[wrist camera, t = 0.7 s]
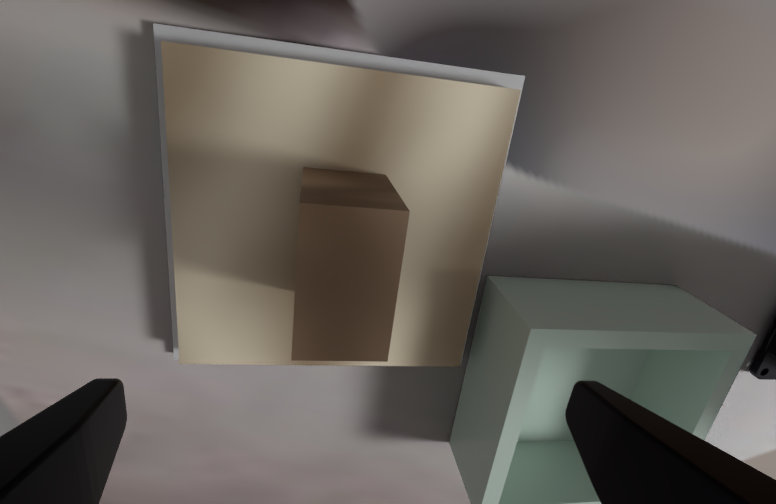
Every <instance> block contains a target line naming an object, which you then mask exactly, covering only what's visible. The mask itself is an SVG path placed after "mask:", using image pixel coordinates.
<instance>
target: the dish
mask: <svg viewBox="0 0 776 504" xmlns="http://www.w3.org/2000/svg"><path fill="white" fill-rule="evenodd" d="M756 336H757V335H756V334H755V333H753V332H752V331H750V330H748V329H747V328H745V327H743V326H742V325H740V324H738V323H737V322H735V321H733V320H732V319H730V318H729V317H727V316H725V315H724V314H722V313H720V312H719V311H717V310H715V309H714V308H712V307H710V306H709V305H707V304H706V303H704V302H702V301H701V300H699V299H697V298H696V297H694V296H692V295H691V294H689V293H688V292H686V291H684V290H683V289H681V288H679V287H678V286H676V285H663V284H643V283H624V282H604V281H584V280H564V279H545V278H525V277H505V276H487V280H486V284H485V288H484V293H483V297H482V301H481V306H480V310H479V315H478V319H477V323H476V328H475V332H474V337H473V341H472V345H471V350H470V354H469V359H468V363H467V367H466V372H465V376H464V380H463V385H462V389H461V394H460V398H459V402H458V407H457V411H456V416H455V420H454V424H453V429H452V433H451V437H450V442H449V444H450V446H451V449H452V452H453V455H454V458H455V460H456V463H457V466H458V469H459V471H460V474H461V477H462V480H463V483H464V485H465V488H466V491H467V494H468V497H469V499H470V502H471V504H601V502H600V500H599V498H598V496H597V494H596V492H595V490H594V488H593V485H592V483H591V481H590V478H589V476H588V474H587V471H586V469H585V466H584V464H583V461H582V459H581V457H580V454H579V452H578V449H577V447H576V444H575V442H574V439H573V437H572V435H571V432H570V430H569V427H568V425H567V422H566V418H565V411H566V407H567V404H568V401H569V398H570V396H571V393H572V390H573V387H574V384H575V383H576V382H578V381H597V382H599V383H601V384H603V385H605V386H607V387H608V388H610V389H612V390H614V391H616V392H617V393H619V394H621V395H623V396H625V397H627V398H628V399H630V400H632V401H634V402H636V403H637V404H639V405H641V406H643V407H645V408H646V409H648V410H650V411H652V412H654V413H655V414H657V415H659V416H661V417H663V418H664V419H666V420H668V421H670V422H672V423H673V424H675V425H677V426H679V427H681V428H682V429H684V430H686V431H688V432H690V433H692V434H693V435H695V436H697V437H699V438H701V439H702V440H705V438H706V436H707V434H708V432H709V430H710V428H711V426H712V424H713V422H714V420H715V418H716V416H717V414H718V412H719V410H720V408H721V406H722V404H723V402H724V400H725V398H726V396H727V394H728V392H729V390H730V388H731V386H732V384H733V382H734V380H735V378H736V376H737V374H738V372H739V370H740V368H741V366H742V364H743V362H744V360H745V358H746V356H747V354H748V352H749V350H750V348H751V346H752V344H753V342H754V340H755V338H756Z"/></svg>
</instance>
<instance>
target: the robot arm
mask: <svg viewBox="0 0 776 504" xmlns="http://www.w3.org/2000/svg"><path fill="white" fill-rule="evenodd" d="M750 373H751V374H752V375H754V376H755V377H756V378H758V379H776V319H775V321H774V323H773V325H772V327H771V329H770V331H769V333H768V335H767V337H766V339H765V341H764V343H763V345H762V346H761V348H760V350H759V352H758V354H757V356H756V358H755V360H754V362H753V364H752V366H751V368H750ZM565 418H566V422H567V425H568V427H569V430H570V432H571V435H572V437H573V439H574V442H575V444H576V447H577V449H578V452H579V454H580V457H581V459H582V461H583V464H584V466H585V469H586V471H587V474H588V476H589V478H590V481H591V483H592V485H593V488H594V490H595V492H596V494H597V496H598V498H599V500H600V502H601V504H776V480H775V479H773V478H771V477H769V476H767V475H765V474H764V473H762V472H760V471H758V470H757V469H755V468H753V467H751V466H749V465H747V464H746V463H744V462H742V461H740V460H738V459H737V458H735V457H733V456H731V455H729V454H728V453H726V452H724V451H722V450H720V449H719V448H717V447H715V446H713V445H711V444H710V443H708V442H706V441H704V440H702V439H701V438H699V437H697V436H695V435H693V434H692V433H690V432H688V431H686V430H684V429H682V428H681V427H679V426H677V425H675V424H673V423H672V422H670V421H668V420H666V419H664V418H663V417H661V416H659V415H657V414H655V413H654V412H652V411H650V410H648V409H646V408H645V407H643V406H641V405H639V404H637V403H636V402H634V401H632V400H630V399H628V398H627V397H625V396H623V395H621V394H619V393H617V392H616V391H614V390H612V389H610V388H608V387H607V386H605V385H603V384H601V383H599V382H597V381H578V382H576V383H575V384H574V387H573V390H572V393H571V396H570V398H569V401H568V404H567V407H566V411H565ZM126 421H127V412H126V403H125V395H124V386H123V383H122V381H121V380H119V379H94V380H92V381H90V382H89V383H87V384H86V385H84V386H82V387H81V388H79V389H77V390H76V391H74V392H72V393H71V394H69V395H68V396H66V397H64V398H63V399H61V400H59V401H58V402H56V403H54V404H53V405H51V406H50V407H48V408H46V409H45V410H43V411H41V412H40V413H38V414H36V415H35V416H33V417H32V418H30V419H28V420H27V421H25V422H23V423H22V424H20V425H18V426H17V427H15V428H14V429H12V430H11V431H9V432H7V433H5V434H4V435H2V436H1V437H0V504H99V502H100V499H101V496H102V493H103V490H104V487H105V484H106V482H107V479H108V476H109V473H110V470H111V467H112V464H113V461H114V459H115V456H116V453H117V450H118V447H119V444H120V441H121V438H122V436H123V433H124V430H125V426H126Z"/></svg>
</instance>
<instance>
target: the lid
mask: <svg viewBox="0 0 776 504" xmlns="http://www.w3.org/2000/svg"><path fill="white" fill-rule="evenodd" d="M161 49H162V66H163V84H164V101H165V119H166V136H167V154H168V172H169V189H170V207H171V224H172V242H173V259H174V277H175V294H176V312H177V329H178V347H179V364H232V365H336V366H439V367H460V363H461V359H462V354H463V350H464V345H465V341H466V336H467V332H468V327H469V323H470V318H471V313H472V309H473V304H474V300H475V295H476V291H477V286H478V282H479V277H480V273H481V268H482V264H483V259H484V255H485V250H486V246H487V241H488V237H489V232H490V228H491V223H492V218H493V214H494V209H495V205H496V200H497V196H498V191H499V187H500V182H501V178H502V173H503V169H504V164H505V160H506V155H507V151H508V146H509V142H510V137H511V133H512V128H513V123H514V119H515V114H516V110H517V105H518V101H519V96H520V92H521V90H519V89H511V88H504V87H496V86H489V85H482V84H474V83H467V82H460V81H452V80H445V79H438V78H430V77H423V76H415V75H408V74H401V73H393V72H386V71H379V70H371V69H364V68H356V67H349V66H342V65H334V64H327V63H320V62H312V61H305V60H298V59H290V58H283V57H275V56H268V55H261V54H253V53H246V52H239V51H231V50H224V49H216V48H209V47H202V46H194V45H187V44H180V43H172V42H165V41H161Z"/></svg>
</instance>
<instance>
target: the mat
mask: <svg viewBox="0 0 776 504" xmlns="http://www.w3.org/2000/svg"><path fill="white" fill-rule="evenodd" d="M153 30H154V46H155V62H156V78H157V94H158V110H159V127H160V143H161V159H162V175H163V191H164V207H165V223H166V239H167V255H168V271H169V287H170V303H171V319H172V335H173V351H174V359H179V347H178V329H177V312H176V294H175V277H174V259H173V242H172V224H171V207H170V189H169V172H168V154H167V136H166V119H165V101H164V84H163V66H162V49H161V41H165V42H172V43H180V44H187V45H194V46H202V47H209V48H216V49H224V50H231V51H239V52H246V53H253V54H261V55H268V56H275V57H283V58H290V59H298V60H305V61H312V62H320V63H327V64H334V65H342V66H349V67H356V68H364V69H371V70H379V71H386V72H393V73H401V74H408V75H415V76H423V77H430V78H438V79H445V80H452V81H460V82H467V83H474V84H482V85H489V86H496V87H504V88H511V89H519V90H521V92H522V88H523V82H524V79H525V76H521V75H514V74H507V73H499V72H492V71H485V70H478V69H471V68H464V67H457V66H450V65H443V64H436V63H429V62H422V61H415V60H408V59H401V58H394V57H386V56H380V55H373V54H366V53H359V52H352V51H345V50H338V49H331V48H324V47H317V46H310V45H303V44H296V43H289V42H282V41H274V40H267V39H260V38H253V37H246V36H239V35H232V34H225V33H218V32H211V31H204V30H197V29H190V28H183V27H176V26H169V25H162V24H155V23H153ZM521 92H520V96H521ZM520 96H519V101H520ZM519 101H518V105H517V110H518V106H519ZM517 110H516V114H515V119H516V115H517ZM515 119H514V123H515ZM514 123H513V128H514ZM513 128H512V133H513ZM512 133H511V137H512ZM511 137H510V142H511ZM510 142H509V146H510ZM509 146H508V151H509ZM508 151H507V155H508ZM507 155H506V160H507ZM506 160H505V164H506ZM505 164H504V169H505ZM504 169H503V173H504ZM503 173H502V178H503ZM502 178H501V182H502ZM501 182H500V187H501ZM500 187H499V191H500ZM499 191H498V196H499ZM498 196H497V200H498ZM497 200H496V205H497ZM496 205H495V209H496ZM495 209H494V214H495ZM494 214H493V218H494ZM493 218H492V223H493ZM492 223H491V227H492ZM490 232H491V228H490ZM490 232H489V236H490ZM488 241H489V237H488ZM488 241H487V245H488ZM486 250H487V246H486ZM486 250H485V254H486ZM484 259H485V255H484ZM484 259H483V263H484ZM482 268H483V264H482ZM482 268H481V272H482ZM480 277H481V273H480ZM480 277H479V281H480ZM478 286H479V282H478ZM478 286H477V291H478ZM477 291H476V295H477ZM476 295H475V300H476ZM475 300H474V304H475ZM474 304H473V309H474ZM473 309H472V313H473ZM472 313H471V318H472ZM471 318H470V322H471ZM469 327H470V323H469ZM469 327H468V331H469ZM467 336H468V332H467ZM467 336H466V340H467ZM465 345H466V341H465ZM465 345H464V349H465ZM463 354H464V350H463ZM463 354H462V358H463ZM461 363H462V359H461Z"/></svg>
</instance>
